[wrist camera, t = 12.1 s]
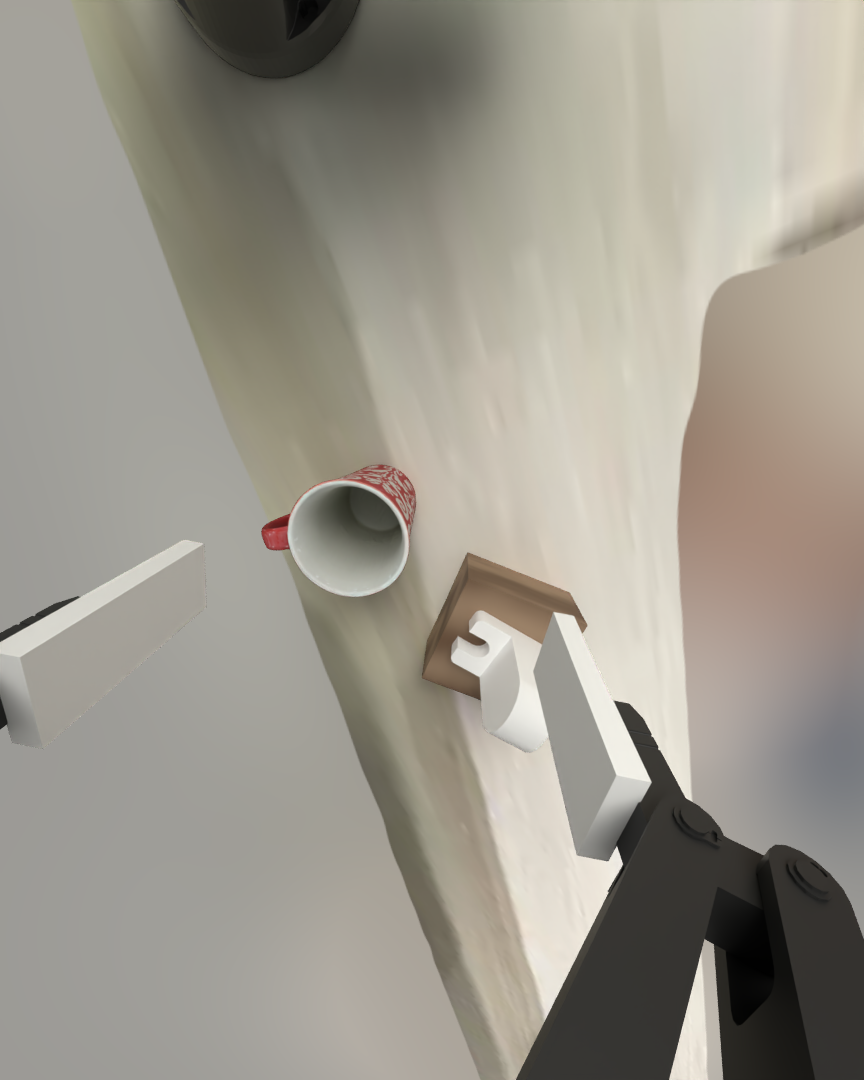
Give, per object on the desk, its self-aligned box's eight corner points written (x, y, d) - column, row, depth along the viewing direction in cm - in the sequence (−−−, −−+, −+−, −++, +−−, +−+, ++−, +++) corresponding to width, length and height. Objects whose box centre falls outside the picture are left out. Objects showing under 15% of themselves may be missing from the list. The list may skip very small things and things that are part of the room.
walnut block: (467, 551, 43) (468, 578, 37) (568, 591, 44) (587, 625, 37) (427, 639, 47) (421, 677, 41) (520, 674, 48) (530, 718, 41)
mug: (422, 451, 40) (403, 476, 27) (428, 537, 43) (414, 596, 30) (299, 459, 41) (226, 486, 28) (314, 542, 44) (253, 601, 31)
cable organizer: (533, 694, 40) (554, 784, 31) (448, 648, 39) (444, 726, 30) (565, 657, 39) (597, 740, 29) (478, 607, 38) (483, 677, 28)
